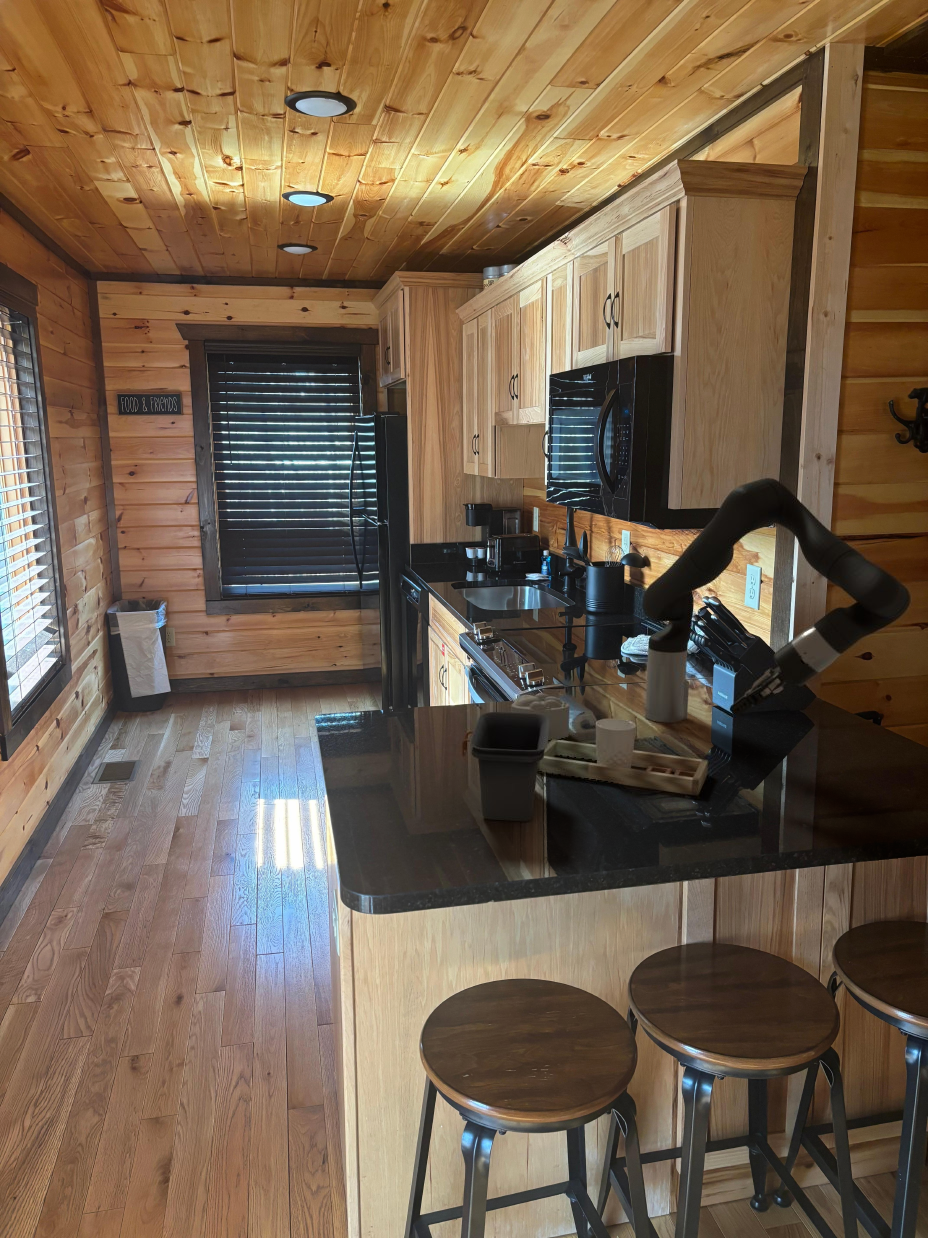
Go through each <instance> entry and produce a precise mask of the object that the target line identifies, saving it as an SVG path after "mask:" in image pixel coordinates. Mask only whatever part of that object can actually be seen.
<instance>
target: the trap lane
mask: <svg viewBox="0 0 928 1238" xmlns="http://www.w3.org/2000/svg"><path fill="white" fill-rule="evenodd" d="M555 755H556V756H560V755H562V756H561V757H567V756H569V758H574V757H576V758H575V759H581V758H584V759H583V760H588V759H592V760H591V761H595V760H597V758H596V744H591V743H585V742H578V741H577V742H576V741H568V740H564V739H561V740H556V739H552V740H551V741H548V744H547V748H545V751H544V757H543V759H542V760H540V761H538V765H537V772H539V771H542V772H541V773H545V772H547V773H546V774H552V773H553V774H552V775H558V774H561V775H560V776H565V775H566V777H571V776H575V777H574V778H578V777H581V778H580V779H584V778H589V779H588V780H591V779H596V780H595V781H597V780H602V781H601V782H604V781H608V782H607V783H611V782H613V783H612V784H617V783H618V785H625V786H632V787H637V788H645V789H651V790H657V791H663V792H664V791H665V792H670V793H675V794H676V793H677V794H683V795H690V796H695V797H696V796H699V794H700V792H701V789H702V787H703V785H704V783H705V781H706V779H707V776H708V772H709V770H708V769H709V760H707V759H700V758H694V757H693V758H692V757H686V756H677V755H671V754H664V753H656V752H649V751H641V750H635V749H634V750H633V758H632V761H631V762H632V763H631V767H635V768H631V769H630V768H623V767H617V766H610V765H603V764H597V762H596V763H594V762H587V761H582V760H581V761H580V760H574V759H568V758H561V757H556V756H555ZM554 756H555V757H554ZM636 767H637V768H644V769H645V768H646V770H643V769H637V768H636ZM672 773H674V774H672Z"/></svg>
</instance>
